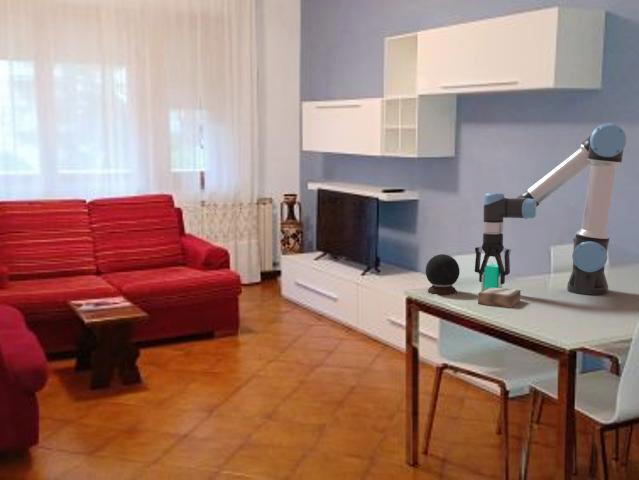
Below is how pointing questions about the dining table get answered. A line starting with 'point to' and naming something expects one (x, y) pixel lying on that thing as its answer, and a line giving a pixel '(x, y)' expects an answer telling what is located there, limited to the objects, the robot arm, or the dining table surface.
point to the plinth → (499, 297)
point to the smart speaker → (442, 274)
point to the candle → (491, 276)
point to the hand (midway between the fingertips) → (491, 291)
